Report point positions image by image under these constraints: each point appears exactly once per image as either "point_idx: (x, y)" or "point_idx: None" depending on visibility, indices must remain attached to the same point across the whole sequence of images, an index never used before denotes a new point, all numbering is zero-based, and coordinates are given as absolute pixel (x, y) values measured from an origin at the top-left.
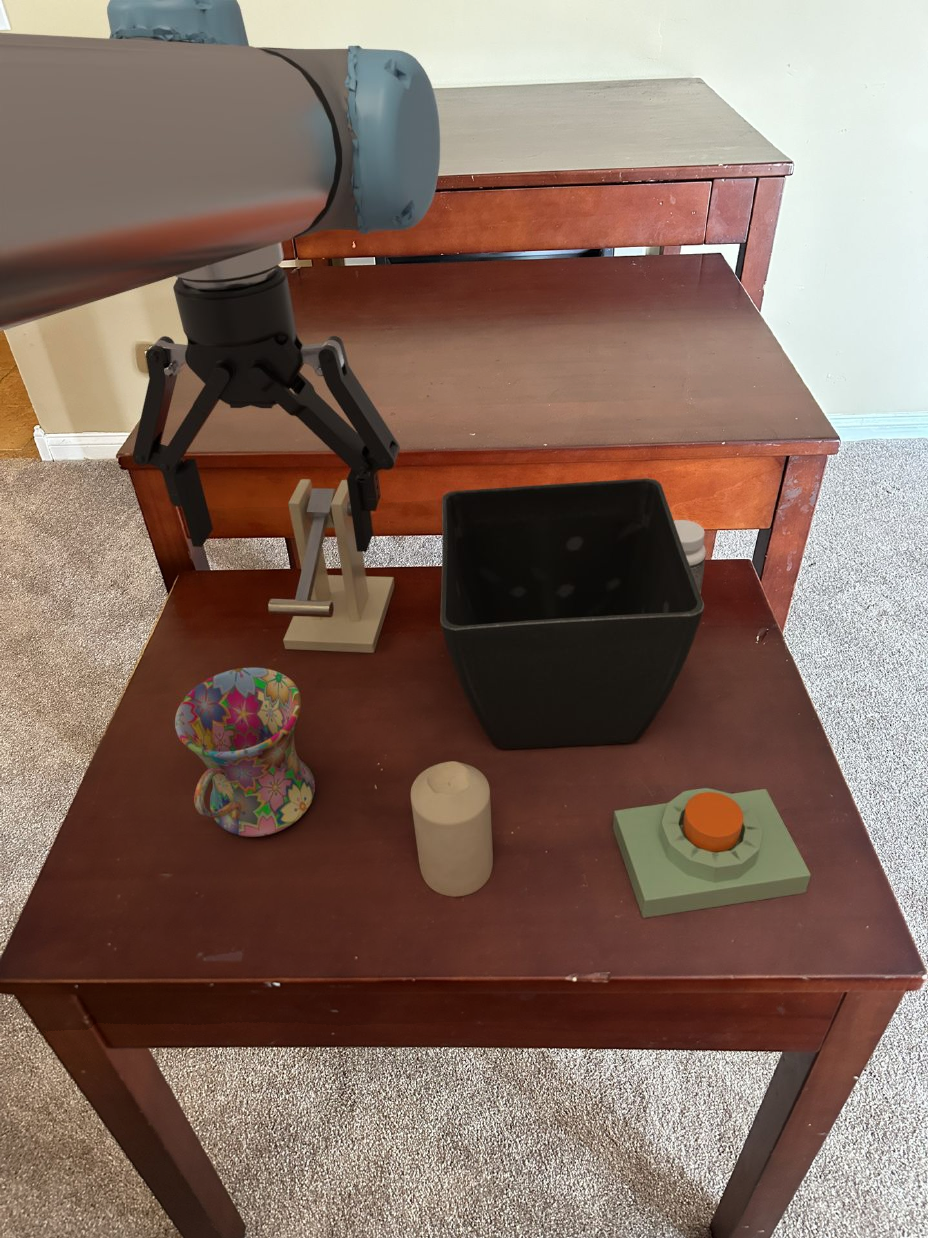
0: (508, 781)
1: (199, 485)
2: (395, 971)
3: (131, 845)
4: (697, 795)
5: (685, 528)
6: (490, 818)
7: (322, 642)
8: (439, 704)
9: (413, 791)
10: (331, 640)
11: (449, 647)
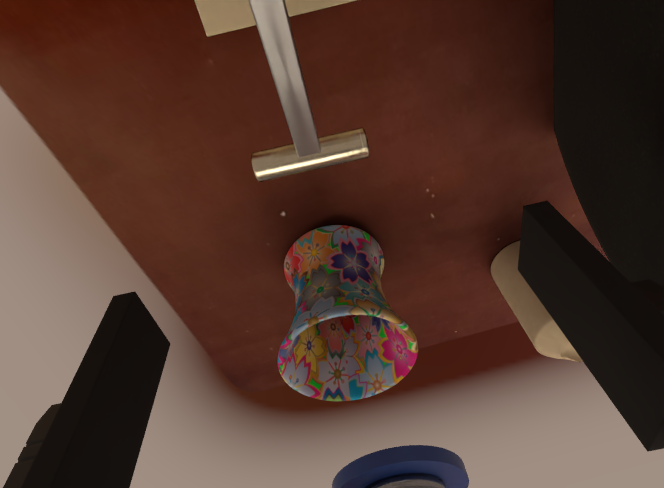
0: (567, 171)
1: (92, 421)
2: (483, 330)
3: (247, 321)
4: None
5: None
6: None
7: None
8: (482, 81)
9: (539, 346)
10: (288, 12)
11: None
